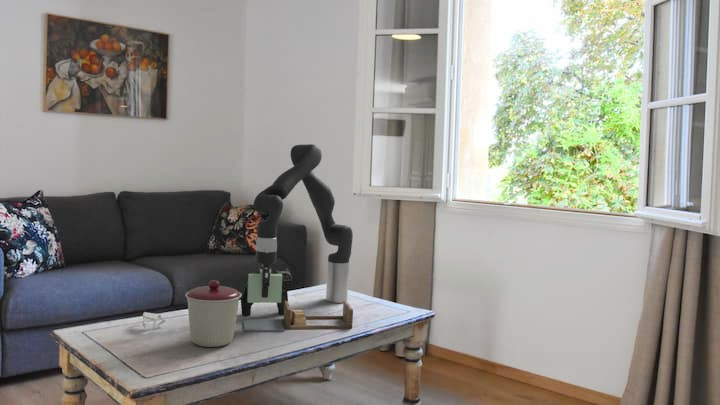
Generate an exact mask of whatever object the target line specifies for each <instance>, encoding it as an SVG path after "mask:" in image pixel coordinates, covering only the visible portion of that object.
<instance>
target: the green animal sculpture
mask: <svg viewBox="0 0 720 405" xmlns="http://www.w3.org/2000/svg"><path fill="white" fill-rule="evenodd" d="M271 266H275V267H276V269H274V271H275V272H274V274H282V294H281V303H276V306H277V313H278V315H279V316H281V315H284V305H285V301H288V302H289V295H288V288H290V287H291V285H292V282H293V277H292V275H291V272H290V269H289V267H287V268H286V270H281V271H279V270H278V266H277V265H276V264H275V263H273V264H270V265H269V267H271ZM252 274H260V271H259V272H253V273H252ZM240 291H241V292H240V293H241V294H242V296H241V297H240V308H241V315H242V316H243V317H250V316H251V315H252V314H251V313H252V311H251V310H252V306H253V305H254V303H248V301H247V300H248V276H247V277H246V278H245V280H244V285H243V287H242V288H241V290H240Z"/></svg>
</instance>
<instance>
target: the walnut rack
mask: <svg viewBox="0 0 720 405" xmlns="http://www.w3.org/2000/svg"><path fill="white" fill-rule="evenodd" d="M291 317H292V309H291V307H290V304H289V300H288V301H285V305H284V314H283V320H284V323H285V326H286V328H287V330H320V329H321V330H324V329H325V330H327V329H328V330H329V329H331V330H335V329H338V330H340V329H343V330H344V329H345V330H346V329H350V330H352V329H353V322H354V321H353V320H354V319H353V318H354V309H353V308H352V307H351V305H350V304H349V303H348V300H347V301H343V306H342V315H305V318H306V320H343V321H344V322H345V324H346V325H345V324H342V325H341V324H337V325H335V324H333V325H332V324H330V325H329V324H328V325H325V324H323V325H322V324H321V325H318V324H317V325H313V324H312V325H309V324H308V325H307V324H306V325H297V326H294V325H291V324H292V322H291Z"/></svg>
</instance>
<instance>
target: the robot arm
mask: <svg viewBox="0 0 720 405" xmlns="http://www.w3.org/2000/svg"><path fill="white" fill-rule="evenodd" d="M290 160H291V163H292V165H293V167H291V168H289V169H287V170H286V171H283V173H281V174H280V175H278V177H277V178H276V179H275V180H274V182H272V184H271V185H270V186H268V187H266V188H265V189H263V190H262V191H260V192H259V193H258V194H257V195H256V196H255V198H254V201H253V209H254V210H255V212H257V213H258V214H263V215H268V216H267V219H264V220H260V221H259V222H258V223H257V232H256V235H257V236H256V243H255V263H257V264H261V266H259V272H260V274H261V281H262V297H263V298H267V297H268V287H269V286H270V284H269V282H270V276H271V274H272V267H271V265H270V264H275V263H276V262H277V256H278V254H277V253H278V241H277V240H278V225H279V223H280V219H281V215H282V213H283V209H284V203H283V202H284V201H283V200H285V199H287V197H288V196H289V194H290V193H291V192H292V191H293V189H294V188H295V187H296V186H297V185H298V184H299V183H300V182H301V181H302V183H303V185H304V187H305V190H306V192H307V194H308V196H309V199H310V202H311V204H312V206H313V208H314V210H315V212H316V214H317V217H318V220H319V222H320V226H321V229H322V232H323V236H324V239H325V241H326V243H327V244H329V245H331V246H334V247H335V246H336V247H337V251H336V252H333V253H330V254H328V257H327V271H326V273H327V274H326V295H325V301H326V302H329V303H334V304H341V303H343V301H347V302H348V291H349V273H350V272H349V270H350V258H351V256H352V247H353V246H352V245H353V240H354V239H353V238H354V237H353V229H352V227H351V226H348V225H345V224H337V223H336V221H335V220H334V218H333V212H334V208H335V205H336V204H335V203H336V202H335V201H336V200H335V197H334V195H333V192H332V190H331V187H330V186H329V185H328V184H327V182H326V181H324V180H323V179H322V178H321V177H320V176H319V175H317V174H316V173H315V171H313V170H315V169H316V168H317V167H318V166H319V164H320V163H321V161H322V151H321V147H320V146H318V145H317V144H311V143H310V144H295V145H294V146H292V148H291V149H290ZM269 265H270V266H269ZM262 275H263V278H262ZM264 282H267V283H264Z"/></svg>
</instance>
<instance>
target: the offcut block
mask: <svg viewBox="0 0 720 405" xmlns="http://www.w3.org/2000/svg"><path fill="white" fill-rule="evenodd" d="M291 316H292V317H291V324H292V326H297V325H307V322H306V321H307V319H306V318H305V316H306V315H305V312H304V311H303V309H291Z"/></svg>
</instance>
